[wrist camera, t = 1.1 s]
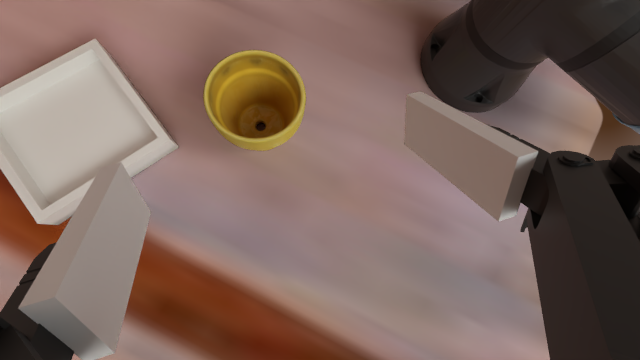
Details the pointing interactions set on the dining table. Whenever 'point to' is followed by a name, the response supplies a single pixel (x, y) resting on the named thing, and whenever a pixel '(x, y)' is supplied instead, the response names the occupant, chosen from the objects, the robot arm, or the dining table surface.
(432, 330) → the dining table surface
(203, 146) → the dining table surface
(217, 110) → the plant pot
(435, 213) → the dining table surface
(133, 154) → the white tray
